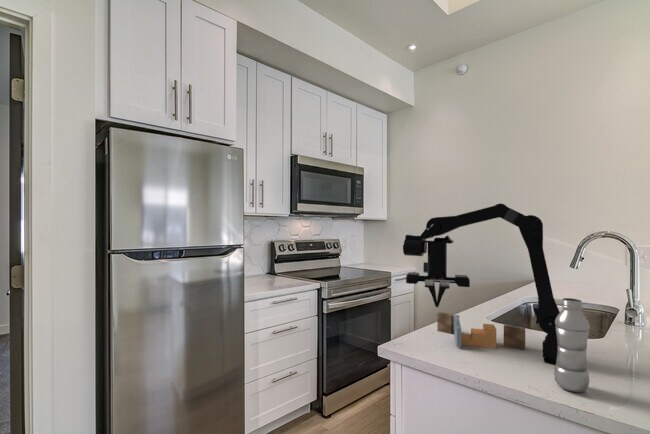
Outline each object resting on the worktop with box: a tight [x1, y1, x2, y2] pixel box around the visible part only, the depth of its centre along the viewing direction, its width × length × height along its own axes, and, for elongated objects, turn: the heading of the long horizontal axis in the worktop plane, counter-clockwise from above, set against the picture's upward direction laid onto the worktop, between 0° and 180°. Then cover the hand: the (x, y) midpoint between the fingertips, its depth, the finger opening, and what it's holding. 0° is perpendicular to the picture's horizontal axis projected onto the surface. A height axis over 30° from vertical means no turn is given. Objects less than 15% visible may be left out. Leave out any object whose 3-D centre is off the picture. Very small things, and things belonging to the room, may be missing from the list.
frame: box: [436, 311, 526, 351], centre depth 110 cm, size 26×2×6 cm, turn 49°
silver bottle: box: [553, 297, 591, 393], centre depth 78 cm, size 6×7×20 cm
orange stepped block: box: [461, 323, 497, 349], centre depth 106 cm, size 10×5×6 cm, turn 72°
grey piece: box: [452, 314, 462, 348], centre depth 108 cm, size 15×2×6 cm, turn 162°
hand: (436, 306), depth 108 cm, fingers closed
